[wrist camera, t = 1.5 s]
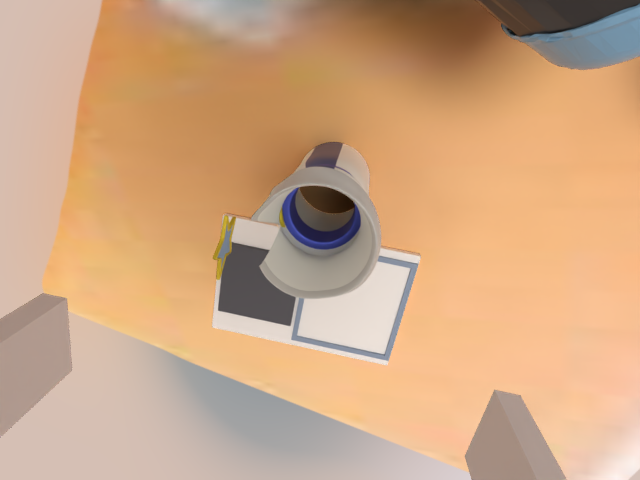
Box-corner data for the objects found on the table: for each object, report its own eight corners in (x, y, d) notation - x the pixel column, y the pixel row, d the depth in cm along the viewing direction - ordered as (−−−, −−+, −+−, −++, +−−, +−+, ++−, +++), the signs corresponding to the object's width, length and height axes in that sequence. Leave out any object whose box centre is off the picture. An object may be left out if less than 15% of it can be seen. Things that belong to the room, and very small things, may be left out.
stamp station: (225, 213, 42) (221, 216, 41) (419, 253, 42) (421, 258, 40) (214, 323, 48) (210, 329, 46) (386, 361, 47) (387, 368, 46)
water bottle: (301, 223, 42) (229, 375, 19) (288, 146, 39) (184, 209, 16) (374, 215, 41) (397, 366, 17) (367, 135, 38) (381, 186, 15)
